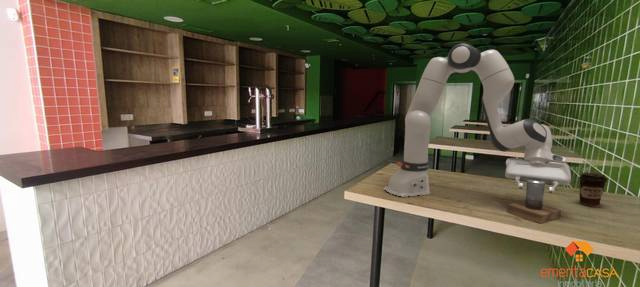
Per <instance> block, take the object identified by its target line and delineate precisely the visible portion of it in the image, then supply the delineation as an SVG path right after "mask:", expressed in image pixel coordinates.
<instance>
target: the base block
mask: <svg viewBox="0 0 640 287" xmlns="http://www.w3.org/2000/svg"><path fill="white" fill-rule="evenodd" d="M506 206H507V207H506V212H507V213H509V214H512V215H514V216H517V217H521V218H523V219H526V220H529V221H531V222H534V223H538V224H545V223H547V222H550V221H554V220H556V219H560V218H561V210H562V209H559V208H556V207H555V208H554V207H552V206H549V205H545V204H543V205H542V209H541V210H534V209H529V208H527V207H525V199H524V200H521V201H516V202H514V203H509V204H507V205H506Z"/></svg>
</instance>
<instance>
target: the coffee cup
mask: <svg viewBox="0 0 640 287" xmlns="http://www.w3.org/2000/svg"><path fill="white" fill-rule="evenodd" d="M607 181H608V178H606V175H605V174H601V173H594V172H582V174H581V175H579V193H578V194H579V202H578V203H579V204H581V205H583V206H587V207H588V206H589V207H593V208H594V207H596V208H599V207H601V200H602V195H604V194H603V193H604V189H605V185H606V184H607V183H606V182H607Z"/></svg>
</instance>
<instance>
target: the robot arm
mask: <svg viewBox="0 0 640 287" xmlns="http://www.w3.org/2000/svg"><path fill="white" fill-rule="evenodd" d="M471 71H474V72H475V74H477V75H478V78H479V80H480V82H481V84H482V86H483V87H482V88H483V95H482V96H481V97H480V98H481V101H480V102H481V104H482V105H481V106H482V110H483V113H484V117H485V119H486V123H487V127H488V131H489V138H490V142H491V145H492V147H494V149H496V150H498V151H499V152H503V153H504V152H508V151H511V150H513V149H515V148H519V147H522V146H524V147H525V150H524V153H523V154H524V155H523V158H521V157H519V158H518V157H510V158H507V159H506V161H505V166H506V168H505V174H504V176H505V177H506V179H512V180H515V184H517V189H519V190H523V189H524V188H523V187H524V183H523V182H520V181H521V180H522V181H525V182H527V179H539V180H543V181H545V184H551V185H552V186H548V193H549V194H554V193H555V190H556V189H557V188H558V186H569V185H571V182H572V174H571V170H570V166H569V165H568V164H567V159H568V158H566V157H564V156H562V155H557V154H554V153H552V151H551V150H552V148H553V136H552V135H553V134H552V131H551V129H550V127H549V126H547V125H546V124H542V123H540V122H538V121H537V120H533V119H531V118H526V119H523V120H520V121H519V120H518V121H517V122H514V123H512V124H509V125H506V126H503V123H502V120H501V116H500V113H499V104H500V103H501V101H502V100H503V99H504V98H505V97H506V96H507V95H508V94H509V93H510V92H511V91H512V89H513V87H514V84H515V76H514V74H513V72H512V70H511V68H510V66H509V64H508V63H507V60H505V58H504V57H503V56H502V54H501V53H500V52H499V51H498V50H496V49H487V50H485V51H482V52H481V50H480V49H478V48H476V47H474V46H473V45H472V44H468V43H462V42H461V43H458V44H455V45H454V46H452V48H450V50H449V52H448V53H447V56H445V57H443V56H437V57H433V58H431V59H430V60H429V62H428V63H427V65H426V67H425V68H424V71H423V73H422V75H421V77H420V80H419V82H418V85H417V87H416V91H415V93H414V96H413V98H412V101H411V103H410V105H409V107H408V110H407V112H406V115H405V118H404V123H405V126H404V127H405V128H404V129H405V130H404V133H405V134H404V147H403V148H404V150H403V160H402V162H401V161H397V163H396V166H397V167H400V169H398V171H396V172H395V173H394V174H392V175H391V177H390V178H389V181H388V185H387V186H384V187H383V191H384V190H386V191H387V192H389V193H391V194H390V195H392V194H394V195H397V196H396V197H398V196H401V197H400V198H408V196H410V197H418V196H417V195H420V196H429V195H431V189H430V185H429V183H430V182H429V174H428V172H429V171H428V170H429V166H430V165H429V164H430V162H429V144H430V137H431V126H432V120H431V117H432V116H433V113H434V111H435V109H436V107H437V105H438V104H439V101H440V99H441V96H442V93H443V92H444V89H445V87H446V85H447V81H448V79H449V77H450V75H465V74H467V73H470V72H471ZM386 191H385V192H386ZM387 192H386V193H387ZM389 193H388V194H389ZM394 195H393V196H394Z"/></svg>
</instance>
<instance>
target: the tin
mask: <svg viewBox="0 0 640 287" xmlns="http://www.w3.org/2000/svg"><path fill="white" fill-rule="evenodd" d="M545 186H546V183H545V181H543V180H539V179H527V181H526V188H525V198H524V200H525V207H527V208H529V209H534V210H541V209H542V205H544V204H543V203H544V194H545Z"/></svg>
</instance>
